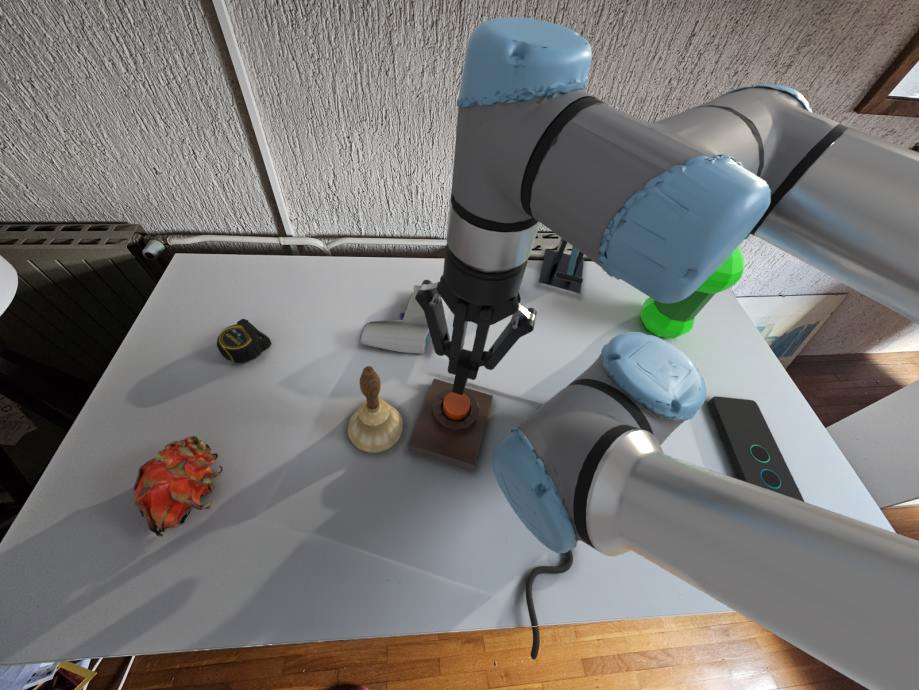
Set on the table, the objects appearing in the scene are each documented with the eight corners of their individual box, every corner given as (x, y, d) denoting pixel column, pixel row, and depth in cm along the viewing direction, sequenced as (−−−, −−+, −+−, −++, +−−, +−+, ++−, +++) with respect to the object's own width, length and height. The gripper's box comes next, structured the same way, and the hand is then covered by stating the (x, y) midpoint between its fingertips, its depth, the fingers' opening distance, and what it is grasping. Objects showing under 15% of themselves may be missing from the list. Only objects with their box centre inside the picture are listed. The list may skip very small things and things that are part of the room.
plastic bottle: (688, 351, 74) (787, 248, 55) (634, 341, 75) (715, 235, 55) (677, 314, 81) (764, 210, 61) (628, 305, 81) (699, 198, 61)
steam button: (465, 424, 56) (466, 418, 55) (439, 416, 56) (439, 410, 55) (471, 401, 59) (473, 395, 57) (446, 394, 59) (447, 388, 57)
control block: (473, 470, 56) (477, 460, 52) (408, 450, 56) (408, 439, 53) (490, 402, 63) (495, 389, 60) (433, 385, 64) (434, 372, 61)
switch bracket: (578, 296, 81) (604, 243, 70) (537, 285, 82) (557, 231, 71) (582, 262, 88) (606, 209, 77) (544, 252, 89) (563, 198, 78)
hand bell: (410, 411, 60) (411, 352, 48) (391, 460, 55) (385, 407, 43) (362, 396, 61) (349, 334, 49) (338, 443, 56) (317, 387, 43)
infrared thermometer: (434, 301, 77) (430, 357, 67) (374, 295, 76) (360, 352, 66) (436, 283, 74) (431, 340, 64) (372, 277, 73) (357, 334, 63)
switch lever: (579, 287, 72) (583, 280, 70) (553, 280, 72) (556, 273, 70) (591, 229, 77) (595, 221, 75) (566, 223, 77) (570, 215, 75)
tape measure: (276, 349, 65) (270, 335, 62) (239, 374, 61) (230, 360, 58) (252, 328, 67) (245, 313, 64) (215, 350, 63) (205, 336, 61)
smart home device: (761, 517, 54) (711, 395, 66) (752, 520, 55) (705, 400, 68) (816, 522, 54) (757, 400, 67) (806, 525, 56) (750, 404, 68)
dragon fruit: (221, 446, 55) (192, 539, 50) (151, 435, 51) (108, 536, 45) (238, 435, 50) (207, 537, 44) (161, 420, 45) (114, 533, 39)
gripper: (564, 241, 36) (510, 377, 54) (431, 207, 37) (423, 352, 55) (555, 294, 31) (500, 423, 50) (403, 253, 32) (405, 394, 51)
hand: (460, 385), depth 52 cm, fingers closed
